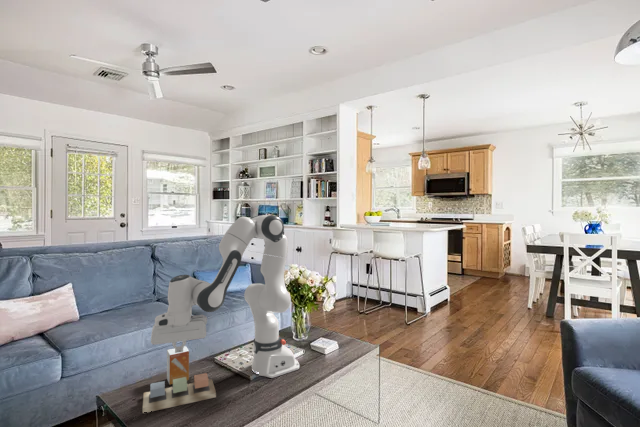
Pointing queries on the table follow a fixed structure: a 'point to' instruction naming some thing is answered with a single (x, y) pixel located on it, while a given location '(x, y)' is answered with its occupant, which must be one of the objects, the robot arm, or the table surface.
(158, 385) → the slate button
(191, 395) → the button board
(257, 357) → the robot arm
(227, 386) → the table surface
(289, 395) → the table surface
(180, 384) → the sage button
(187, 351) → the small box
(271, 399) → the table surface
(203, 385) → the terracotta button
